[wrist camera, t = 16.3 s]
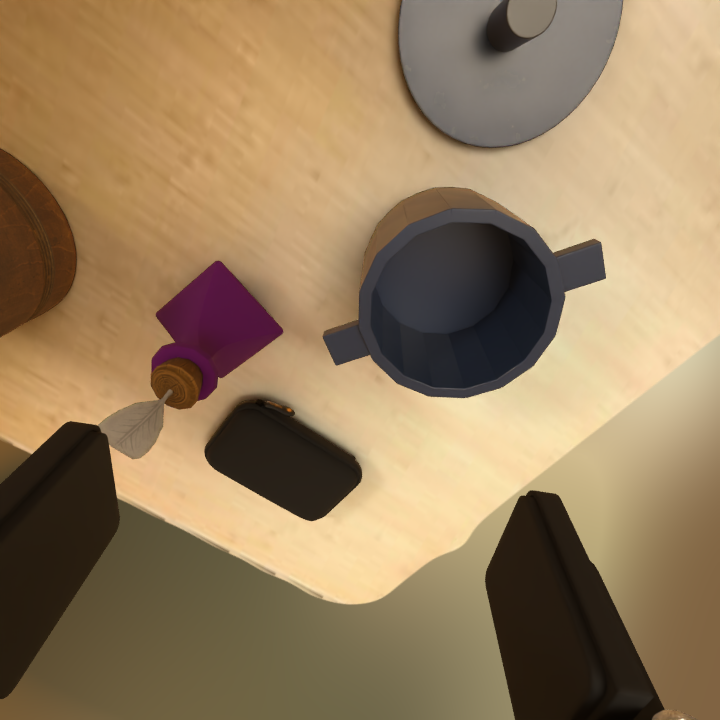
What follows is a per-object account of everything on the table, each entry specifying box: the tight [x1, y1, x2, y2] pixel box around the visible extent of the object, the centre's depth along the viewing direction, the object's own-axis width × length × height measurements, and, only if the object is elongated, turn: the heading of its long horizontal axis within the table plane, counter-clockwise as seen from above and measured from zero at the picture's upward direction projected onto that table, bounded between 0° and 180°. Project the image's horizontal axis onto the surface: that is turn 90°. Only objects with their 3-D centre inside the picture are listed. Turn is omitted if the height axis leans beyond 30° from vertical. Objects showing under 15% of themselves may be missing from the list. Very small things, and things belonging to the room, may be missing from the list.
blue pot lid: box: [398, 0, 623, 148], centre depth 26 cm, size 14×14×6 cm
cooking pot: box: [323, 187, 606, 398], centre depth 32 cm, size 13×18×10 cm
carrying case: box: [205, 400, 362, 521], centre depth 45 cm, size 11×3×15 cm
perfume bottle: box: [98, 261, 283, 459], centre depth 31 cm, size 8×8×18 cm
